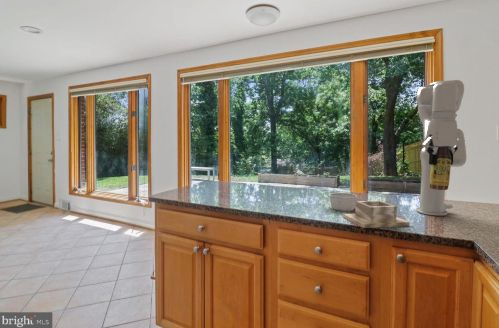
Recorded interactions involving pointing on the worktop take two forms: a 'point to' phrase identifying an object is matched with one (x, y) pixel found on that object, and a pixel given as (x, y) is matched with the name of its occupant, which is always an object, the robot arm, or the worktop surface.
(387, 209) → the bottle caddy
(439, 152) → the sauce bottle
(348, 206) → the ramekin
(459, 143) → the robot arm
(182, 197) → the worktop surface
